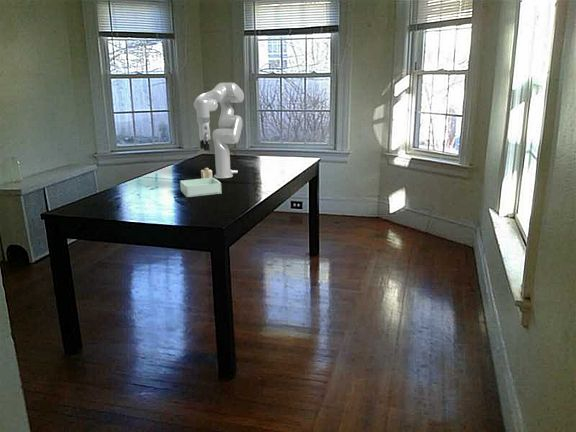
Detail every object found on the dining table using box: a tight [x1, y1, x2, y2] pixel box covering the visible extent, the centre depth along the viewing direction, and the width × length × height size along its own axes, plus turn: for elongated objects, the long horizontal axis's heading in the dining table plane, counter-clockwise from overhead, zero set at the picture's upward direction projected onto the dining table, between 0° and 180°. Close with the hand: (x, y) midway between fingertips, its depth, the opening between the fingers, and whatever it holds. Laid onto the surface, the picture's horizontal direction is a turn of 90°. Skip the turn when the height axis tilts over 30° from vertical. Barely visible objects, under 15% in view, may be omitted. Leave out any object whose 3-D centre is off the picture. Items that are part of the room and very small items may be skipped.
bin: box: [179, 177, 223, 198], centre depth 299 cm, size 20×18×6 cm
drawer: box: [200, 167, 213, 179], centre depth 317 cm, size 6×6×8 cm
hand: (204, 149), depth 313 cm, fingers open, 9 cm apart
